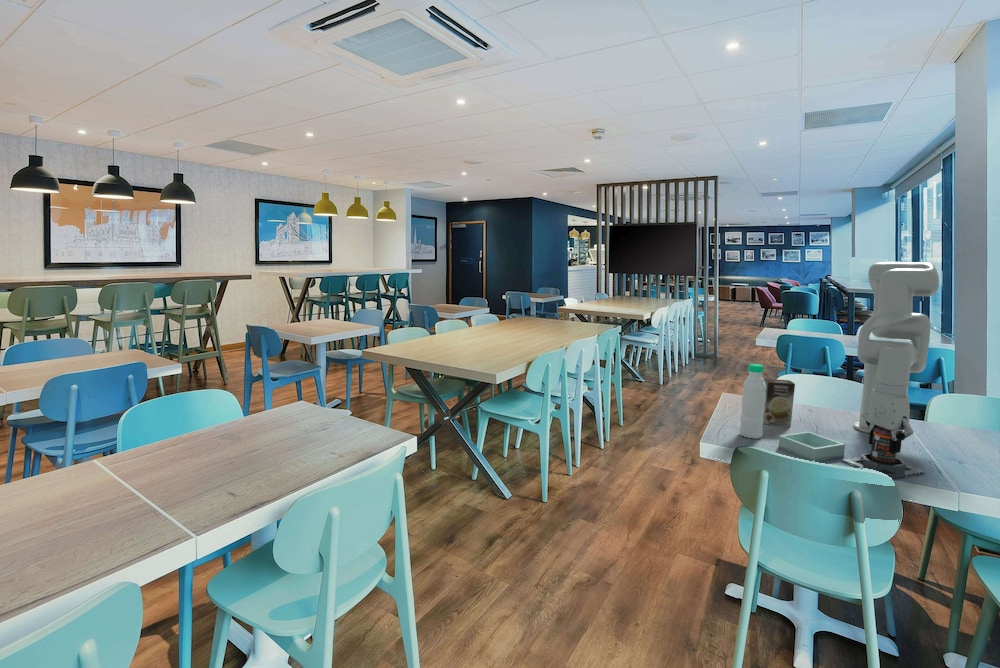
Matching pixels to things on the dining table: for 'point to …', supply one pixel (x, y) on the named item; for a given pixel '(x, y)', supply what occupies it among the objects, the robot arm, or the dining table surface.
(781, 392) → the coffee box
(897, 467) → the square bottle holder
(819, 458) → the bin
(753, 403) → the water bottle
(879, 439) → the supplement bottle
